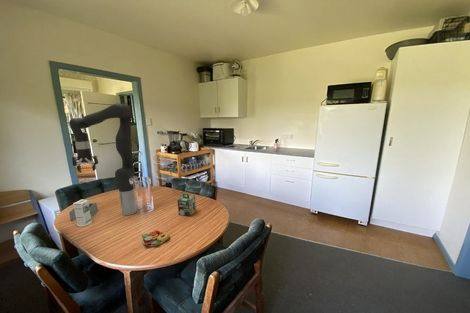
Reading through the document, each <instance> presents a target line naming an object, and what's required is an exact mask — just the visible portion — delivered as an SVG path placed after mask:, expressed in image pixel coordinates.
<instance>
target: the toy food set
mask: <svg viewBox="0 0 470 313" xmlns="http://www.w3.org/2000/svg"><path fill="white" fill-rule="evenodd" d="M170 237H171V236H170V233H169V232H165V231H160V230H159V229H155V230H154V231H153V230H152V231H151V232H149V233H144V234H142V235H141V238H142V241H141V242H142V244H143V245H144V246H146V247H158V246H160V245H162V244H163V243H164V242H165V241H167V240H168V239H169V238H170Z"/></svg>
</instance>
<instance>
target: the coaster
mask: <svg viewBox="0 0 470 313" xmlns="http://www.w3.org/2000/svg"><path fill="white" fill-rule="evenodd" d="M93 222H94V221H93V220H92V221H90V222H88V223H87V224H86V225H82V224H77V223H76V227H80V228H81V227H86V226H88V225H91V224H92V223H93Z"/></svg>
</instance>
